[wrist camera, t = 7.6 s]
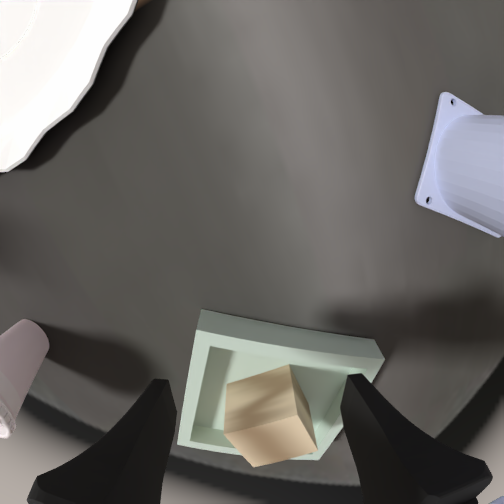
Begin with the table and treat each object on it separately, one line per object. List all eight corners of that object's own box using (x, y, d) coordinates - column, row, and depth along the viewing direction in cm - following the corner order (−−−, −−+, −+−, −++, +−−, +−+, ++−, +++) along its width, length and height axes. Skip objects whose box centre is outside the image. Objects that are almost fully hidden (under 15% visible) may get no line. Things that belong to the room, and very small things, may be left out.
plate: (168, -123, 9) (164, -135, 7) (148, 147, 17) (138, 148, 16) (-47, -22, 8) (-57, -25, 7) (-69, 194, 17) (-82, 199, 15)
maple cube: (288, 364, 22) (297, 414, 17) (308, 403, 24) (318, 450, 19) (226, 383, 22) (223, 434, 18) (252, 420, 24) (253, 467, 19)
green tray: (373, 339, 22) (385, 359, 20) (314, 440, 26) (318, 460, 24) (201, 308, 21) (196, 329, 18) (181, 423, 25) (177, 444, 23)
